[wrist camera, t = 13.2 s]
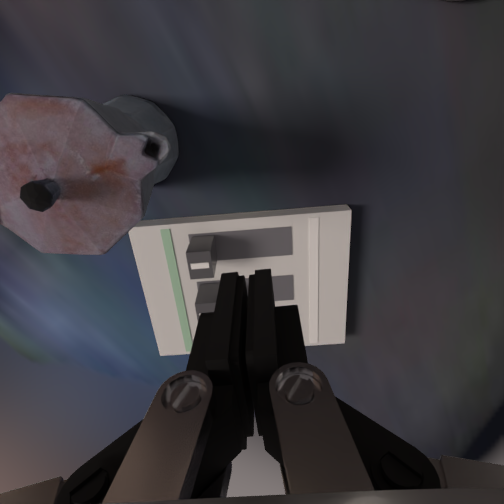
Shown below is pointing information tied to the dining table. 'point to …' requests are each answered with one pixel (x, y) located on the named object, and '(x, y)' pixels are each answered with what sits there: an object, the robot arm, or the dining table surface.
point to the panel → (249, 267)
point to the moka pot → (80, 168)
